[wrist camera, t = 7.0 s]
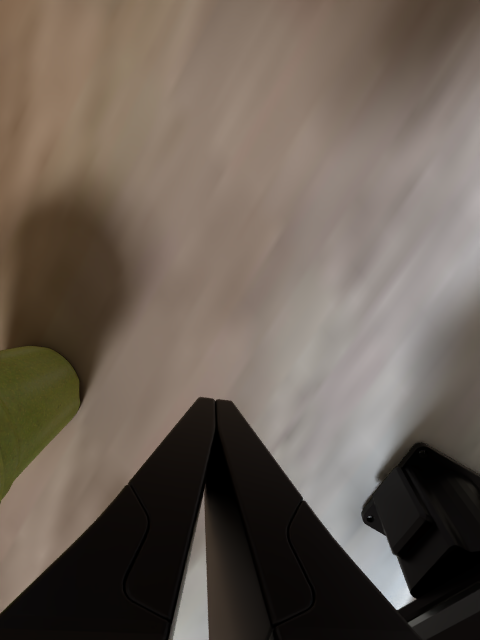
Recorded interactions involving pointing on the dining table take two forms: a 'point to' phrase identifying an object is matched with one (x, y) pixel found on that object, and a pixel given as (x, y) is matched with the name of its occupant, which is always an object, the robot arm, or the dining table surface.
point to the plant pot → (32, 406)
